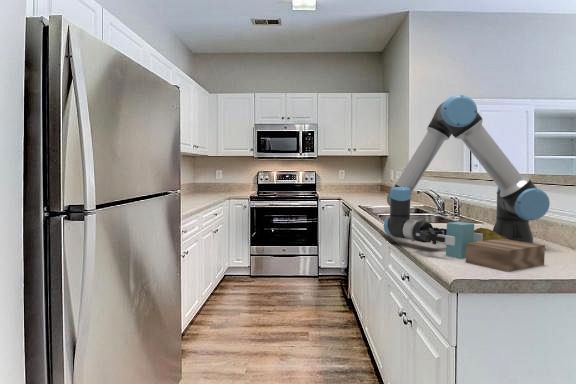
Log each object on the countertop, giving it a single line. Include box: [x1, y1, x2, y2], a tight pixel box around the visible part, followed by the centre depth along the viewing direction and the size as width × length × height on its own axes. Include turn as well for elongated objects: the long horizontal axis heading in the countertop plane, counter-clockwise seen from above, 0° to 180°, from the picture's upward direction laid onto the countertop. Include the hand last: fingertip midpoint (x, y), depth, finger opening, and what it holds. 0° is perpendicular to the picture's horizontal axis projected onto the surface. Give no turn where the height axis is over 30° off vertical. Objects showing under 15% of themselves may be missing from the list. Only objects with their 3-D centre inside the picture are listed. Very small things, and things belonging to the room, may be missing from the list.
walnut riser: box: [465, 239, 546, 272], centre depth 133 cm, size 18×14×6 cm
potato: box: [474, 227, 509, 242], centre depth 153 cm, size 8×13×8 cm, turn 52°
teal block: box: [445, 221, 475, 260], centre depth 143 cm, size 6×6×11 cm
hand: (468, 239), depth 140 cm, fingers open, 13 cm apart
